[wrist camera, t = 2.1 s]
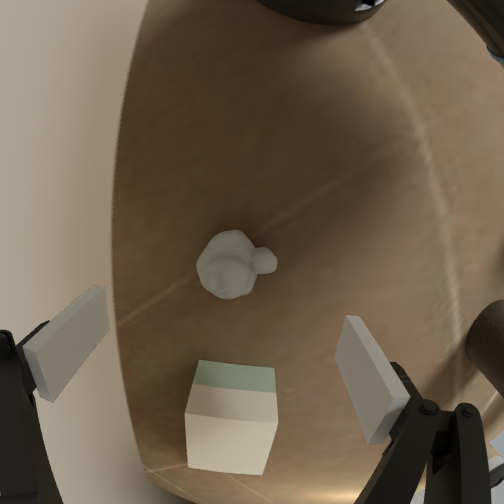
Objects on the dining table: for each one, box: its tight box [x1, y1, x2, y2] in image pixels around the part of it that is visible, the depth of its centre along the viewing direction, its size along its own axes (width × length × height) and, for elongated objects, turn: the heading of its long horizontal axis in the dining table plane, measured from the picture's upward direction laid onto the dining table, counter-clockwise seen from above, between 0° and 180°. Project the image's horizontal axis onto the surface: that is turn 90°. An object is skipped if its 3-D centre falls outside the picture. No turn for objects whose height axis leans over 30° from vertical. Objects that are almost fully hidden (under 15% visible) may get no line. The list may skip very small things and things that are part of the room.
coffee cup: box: [485, 438, 504, 488], centre depth 29 cm, size 9×9×15 cm
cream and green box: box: [185, 360, 278, 475], centre depth 27 cm, size 10×8×8 cm
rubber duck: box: [196, 230, 277, 299], centre depth 22 cm, size 5×7×8 cm
